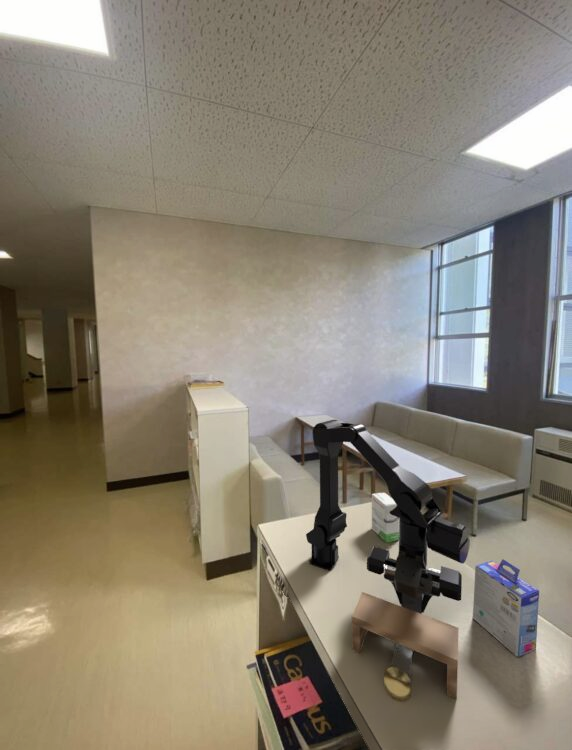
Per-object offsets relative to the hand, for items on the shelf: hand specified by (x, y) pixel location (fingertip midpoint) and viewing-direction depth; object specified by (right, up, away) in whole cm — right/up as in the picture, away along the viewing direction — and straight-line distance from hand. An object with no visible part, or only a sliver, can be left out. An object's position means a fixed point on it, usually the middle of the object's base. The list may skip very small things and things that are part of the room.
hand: (411, 607), depth 69 cm
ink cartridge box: (+17, -2, -5) cm, 18 cm away
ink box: (+4, 0, +31) cm, 31 cm away
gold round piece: (-8, -3, -15) cm, 17 cm away
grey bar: (-3, -2, -5) cm, 6 cm away
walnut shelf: (-5, -3, -9) cm, 11 cm away
